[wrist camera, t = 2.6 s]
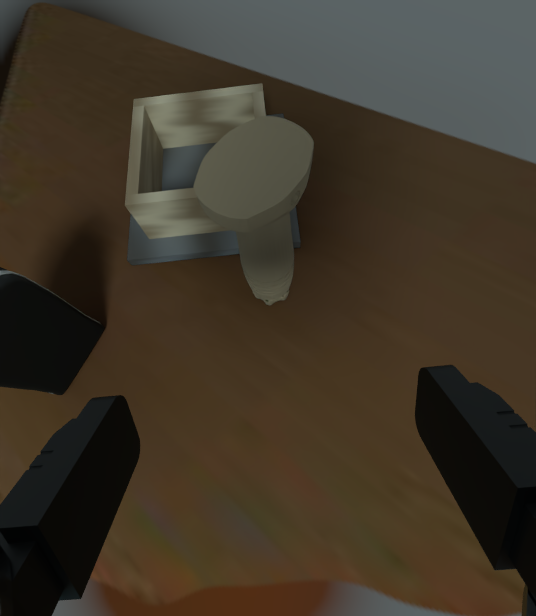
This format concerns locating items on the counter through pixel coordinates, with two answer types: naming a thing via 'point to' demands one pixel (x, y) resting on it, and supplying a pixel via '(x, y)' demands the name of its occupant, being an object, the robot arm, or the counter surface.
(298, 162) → the handle
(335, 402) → the counter surface
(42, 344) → the battery charger
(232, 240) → the cream grey square tray
